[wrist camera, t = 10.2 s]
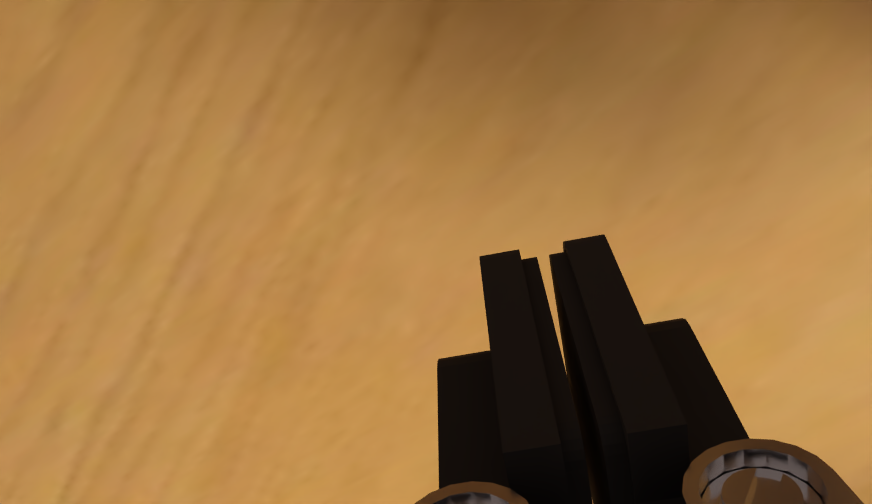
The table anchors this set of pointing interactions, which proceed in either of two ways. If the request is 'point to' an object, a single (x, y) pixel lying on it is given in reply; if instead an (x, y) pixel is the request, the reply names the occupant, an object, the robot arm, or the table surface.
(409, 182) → the table surface
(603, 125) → the table surface
